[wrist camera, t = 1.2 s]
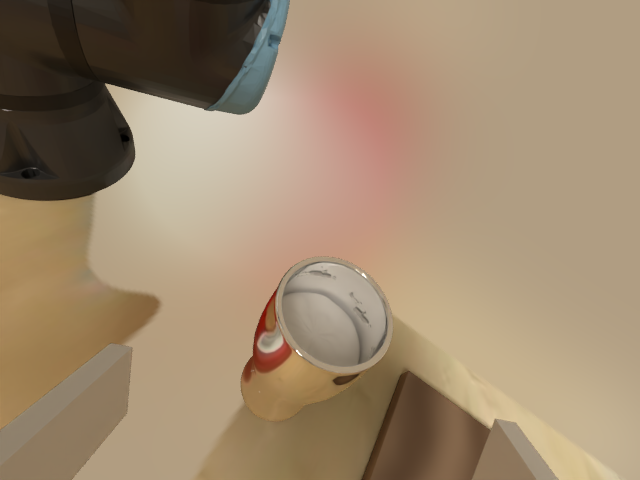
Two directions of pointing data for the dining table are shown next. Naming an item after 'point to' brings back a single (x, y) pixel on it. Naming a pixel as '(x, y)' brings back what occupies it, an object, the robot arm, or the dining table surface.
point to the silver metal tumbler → (315, 337)
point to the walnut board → (425, 437)
